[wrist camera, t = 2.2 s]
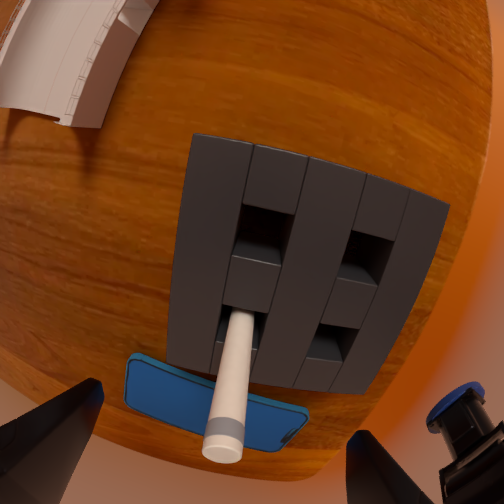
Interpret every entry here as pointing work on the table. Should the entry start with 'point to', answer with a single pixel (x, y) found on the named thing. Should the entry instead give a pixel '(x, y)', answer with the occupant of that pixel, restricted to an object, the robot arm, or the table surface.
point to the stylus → (231, 392)
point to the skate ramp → (69, 56)
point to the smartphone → (205, 404)
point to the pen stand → (296, 265)
